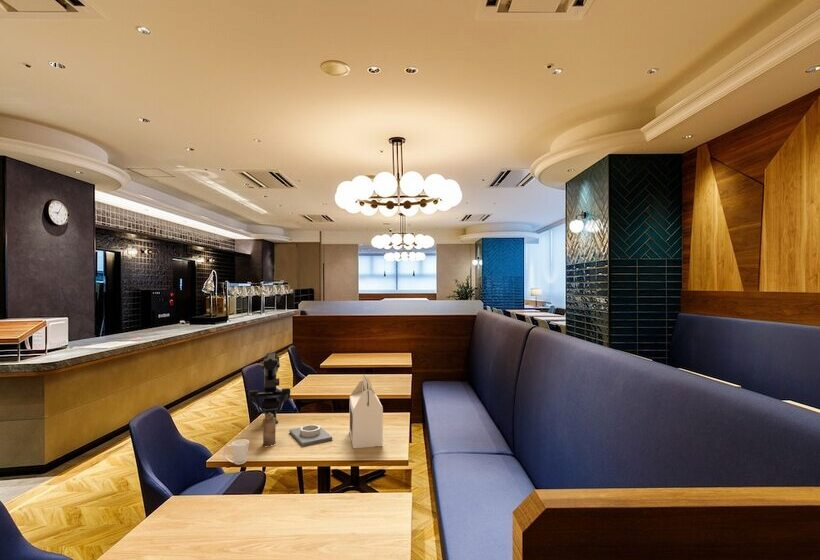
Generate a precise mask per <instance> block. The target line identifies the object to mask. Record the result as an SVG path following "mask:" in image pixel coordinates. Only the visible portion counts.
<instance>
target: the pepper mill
mask: <svg viewBox="0 0 820 560" xmlns="http://www.w3.org/2000/svg"><path fill="white" fill-rule="evenodd" d="M276 420H277V417H276V418H274V414H271V413H268V414H267V415H265V414H264V418H263V420H262V427H263V428H262V429H263V430H262V431H263V433H262V435H263V437H262V445H264V446H263V447H265V446H271V445H274V444H275V445H276V423H275V422H276ZM275 445H274V446H275ZM271 447H272V446H271Z"/></svg>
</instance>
